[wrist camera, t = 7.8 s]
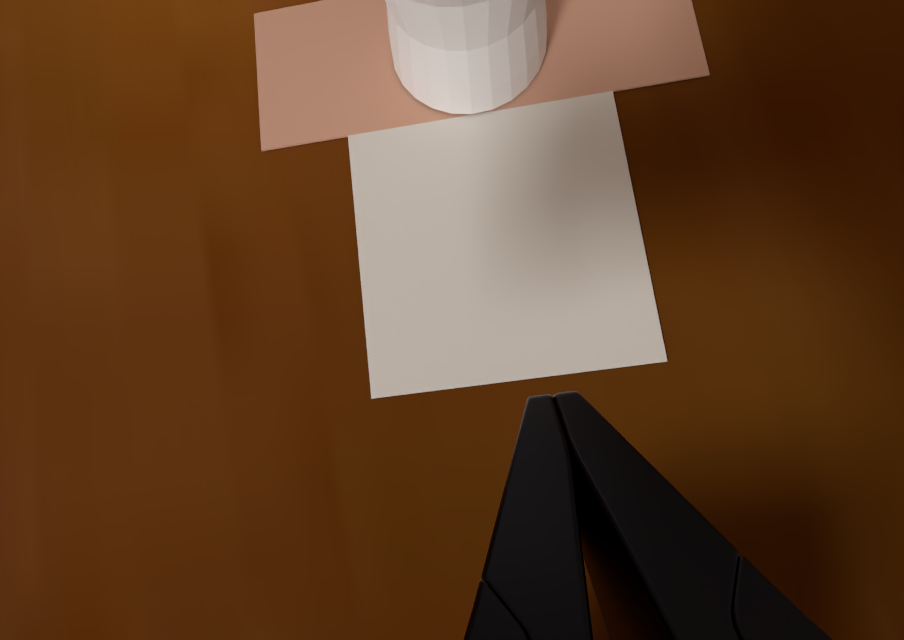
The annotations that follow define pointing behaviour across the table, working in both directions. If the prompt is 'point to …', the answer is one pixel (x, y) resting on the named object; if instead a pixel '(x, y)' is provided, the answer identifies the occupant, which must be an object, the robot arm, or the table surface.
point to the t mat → (485, 191)
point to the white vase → (467, 50)
